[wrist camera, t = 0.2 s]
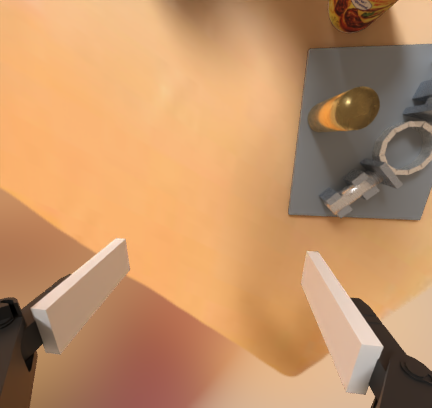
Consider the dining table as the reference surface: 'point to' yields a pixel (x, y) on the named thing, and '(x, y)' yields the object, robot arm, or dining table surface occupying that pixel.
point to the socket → (428, 152)
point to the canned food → (356, 13)
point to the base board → (362, 130)
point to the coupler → (345, 111)
